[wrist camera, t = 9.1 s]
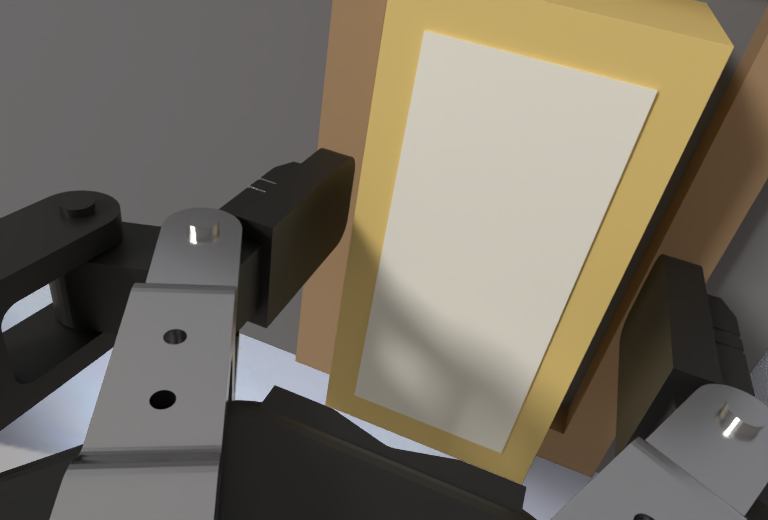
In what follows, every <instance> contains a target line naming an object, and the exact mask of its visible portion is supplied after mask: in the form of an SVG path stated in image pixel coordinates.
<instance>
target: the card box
mask: <svg viewBox="0 0 768 520" xmlns="http://www.w3.org/2000/svg"><path fill="white" fill-rule="evenodd" d="M733 48H734V46H733V44H732V42H731V41H730V39H729V38H728V36H727V35H726V33H725V31H724V30H723V28H722V27H721V25H720V23H719V22H718V20H717V19H716V17H715V16H714V14H713V12H712V11H711V9H710V8H709V6H708V5H707V3H704V2H699V1H695V0H387V5H386V12H385V18H384V25H383V31H382V38H381V44H380V51H379V57H378V64H377V70H376V77H375V84H374V90H373V97H372V103H371V110H370V116H369V123H368V129H367V136H366V142H365V149H364V155H363V162H362V169H361V175H360V182H359V188H358V195H357V201H356V208H355V214H354V221H353V227H352V234H351V240H350V247H349V254H348V260H347V267H346V273H345V280H344V286H343V293H342V299H341V306H340V312H339V319H338V325H337V332H336V339H335V345H334V352H333V358H332V365H331V371H330V378H329V384H328V391H327V397H326V404H325V405H327V406H329V407H331V408H334V409H336V410H339V411H341V412H344V413H346V414H349V415H351V416H354V417H356V418H359V419H361V420H364V421H366V422H369V423H371V424H373V425H376V426H378V427H381V428H383V429H386V430H388V431H391V432H393V433H396V434H398V435H401V436H403V437H406V438H408V439H411V440H413V441H415V442H418V443H420V444H423V445H425V446H428V447H430V448H433V449H435V450H438V451H440V452H443V453H445V454H448V455H450V456H453V457H455V458H457V459H460V460H462V461H465V462H467V463H470V464H472V465H475V466H477V467H480V468H482V469H485V470H487V471H490V472H492V473H495V474H497V475H499V476H502V477H504V478H507V479H509V480H512V481H514V482H517V483H519V484H522V483H523V481H524V479H525V477H526V474H527V472H528V470H529V468H530V466H531V464H532V462H533V460H534V458H535V456H536V454H537V452H538V450H539V448H540V446H541V444H542V442H543V439H544V437H545V435H546V433H547V431H548V429H549V427H550V425H551V423H552V421H553V419H554V417H555V415H556V413H557V411H558V409H559V407H560V404H561V402H562V400H563V398H564V396H565V394H566V392H567V390H568V388H569V386H570V384H571V382H572V380H573V378H574V376H575V374H576V371H577V369H578V367H579V365H580V363H581V361H582V359H583V357H584V355H585V353H586V351H587V349H588V347H589V345H590V343H591V341H592V339H593V336H594V334H595V332H596V330H597V328H598V326H599V324H600V322H601V320H602V318H603V316H604V314H605V312H606V310H607V308H608V306H609V304H610V301H611V299H612V297H613V295H614V293H615V291H616V289H617V287H618V285H619V283H620V281H621V279H622V277H623V275H624V273H625V271H626V268H627V266H628V264H629V262H630V260H631V258H632V256H633V254H634V252H635V250H636V248H637V246H638V244H639V242H640V240H641V238H642V236H643V233H644V231H645V229H646V227H647V225H648V223H649V221H650V219H651V217H652V215H653V213H654V211H655V209H656V207H657V205H658V203H659V200H660V198H661V196H662V194H663V192H664V190H665V188H666V186H667V184H668V182H669V180H670V178H671V176H672V174H673V172H674V170H675V168H676V165H677V163H678V161H679V159H680V157H681V155H682V153H683V151H684V149H685V147H686V145H687V143H688V141H689V139H690V137H691V135H692V133H693V130H694V128H695V126H696V124H697V122H698V120H699V118H700V116H701V114H702V112H703V110H704V108H705V106H706V104H707V102H708V100H709V97H710V95H711V93H712V91H713V89H714V87H715V85H716V83H717V81H718V79H719V77H720V75H721V73H722V71H723V69H724V67H725V65H726V62H727V60H728V58H729V56H730V54H731V52H732V50H733Z"/></svg>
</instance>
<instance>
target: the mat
mask: <svg viewBox="0 0 768 520" xmlns="http://www.w3.org/2000/svg"><path fill="white" fill-rule="evenodd" d="M695 1H699V2H704V3H707V5H708V6H709V8H710V9H711V11H712V12H713V14H714V16H715V17H716V19H717V20H718V22H719V23H720V25H721V27H722V28H723V30H724V31H725V33H726V35H727V36H728V38H729V39H730V41H731V42H732V44H733V46H734V48H733V50H732V52H731V54H730V56H729V58H728V60H727V62H726V65H725V67H724V69H723V71H722V73H721V75H720V77H719V79H718V81H717V83H716V85H715V87H714V89H713V91H712V93H711V95H710V97H709V100H708V102H707V104H706V106H705V108H704V110H703V112H702V114H701V116H700V118H699V120H698V122H697V124H696V126H695V128H694V130H693V133H692V135H691V137H690V139H689V141H688V143H687V145H686V147H685V149H684V151H683V153H682V155H681V157H680V159H679V161H678V163H677V165H676V168H675V170H674V172H673V174H672V176H671V178H670V180H669V182H668V184H667V186H666V188H665V190H664V192H663V194H662V196H661V198H660V200H659V203H658V205H657V207H656V209H655V211H654V213H653V215H652V217H651V219H650V221H649V223H648V225H647V227H646V229H645V231H644V233H643V236H642V238H641V240H640V242H639V244H638V246H637V248H636V250H635V252H634V254H633V256H632V258H631V260H630V262H629V264H628V266H627V268H626V271H625V273H624V275H623V277H622V279H621V281H620V283H619V285H618V287H617V289H616V291H615V293H614V295H613V297H612V299H611V301H610V304H609V306H608V308H607V310H606V312H605V314H604V316H603V318H602V320H601V322H600V324H599V326H598V328H597V330H596V332H595V334H594V336H593V339H592V341H591V343H590V345H589V347H588V349H587V351H586V353H585V355H584V357H583V359H582V361H581V363H580V365H579V367H578V369H577V371H576V374H575V376H574V378H573V380H572V382H571V384H570V386H569V388H568V390H567V392H566V394H565V396H564V398H563V400H562V402H561V404H560V407H559V409H558V411H557V413H556V415H555V417H554V419H553V421H552V423H551V425H550V427H549V429H548V431H547V433H546V435H545V437H544V439H543V442H542V444H541V446H540V448H539V450H538V452H537V454H536V456H539V457H541V458H544V459H547V460H549V461H552V462H554V463H557V464H559V465H562V466H564V467H567V468H569V469H572V470H575V471H577V472H580V473H582V474H585V475H587V476H590V477H592V476H593V474H594V473H595V472H598V473H600V472H601V471H602V470H603V469H604V468H605V467H606V466H607V465H608V464H609V463H610V462H611V461H612V460H613V459H614V458H615V447H616V421H617V395H618V369H619V344H620V337H621V333H622V329H623V326H624V323H625V320H626V318H627V316H628V314H629V312H630V310H631V308H632V306H633V304H634V302H635V300H636V298H637V296H638V294H639V292H640V290H641V288H642V286H643V284H644V282H645V280H646V278H647V276H648V275H649V273H650V271H651V269H652V267H653V265H654V263H655V261H656V260H657V258H658V257H659V256H660V255H661V254H665V255H668V256H671V257H674V258H678V259H681V260H684V261H687V262H690V263H694V264H697V265H700V266H702V268H703V273H704V279H705V285H706V290H707V294H709V295H712V296H716V297H719V298H722V300H723V301H724V302H725V304H726V305H727V306H728V307H729V309H730V310H731V311H732V313H733V314H734V315H735V316H736V318H737V322H738V326H739V331H740V335H741V336H740V339H742V343H743V348H744V352H743V354H745V356H746V360H747V365H748V369H749V373H751V372H752V370H753V369H754V367H755V366H756V365H757V363H758V362H759V360H760V359H761V358H762V356H763V355H764V354H765V352H766V351H767V349H768V0H695ZM386 5H387V0H0V218H2V217H4V216H6V215H8V214H11V213H13V212H15V211H17V210H20V209H22V208H24V207H27V206H29V205H31V204H33V203H36V202H38V201H40V200H42V199H45V198H47V197H49V196H52V195H55V194H58V193H62V192H67V191H77V190H86V191H96V192H101V193H104V194H107V195H109V196H111V197H113V198H114V199H116V200H117V201H118V203H119V205H120V209H121V218H122V222H130V223H137V224H145V225H152V226H161V227H162V224H163V222H164V221H165V219H166V218H167V217H169V216H170V215H172V214H174V213H176V212H178V211H181V210H185V209H190V208H213V209H220V208H221V207H222V206H224V205H225V204H226V203H227V202H229V201H230V200H231V199H233V198H234V197H235V196H237V195H238V194H239V193H241V192H242V191H243V190H245V189H246V188H247V187H248V188H250V185H251V184H253V183H254V182H255V181H257V180H258V179H261V177H262V176H263V175H265V174H266V173H267V172H269V171H270V170H271V169H272V168H274V167H277V166H280V165H284V164H287V163H290V162H297V163H300V164H301V163H302V162H304V161H305V160H306V159H307V158H309V157H310V156H311V155H312V154H314V153H315V152H316V151H317V150H319V149H320V148H325V149H328V150H332V151H335V152H338V153H341V154H344V155H348V156H351V157H353V158H354V159H355V173H354V180H353V187H352V194H351V200H350V207H349V214H348V221H347V225H346V228H345V231H344V234H343V236H342V238H341V240H340V242H339V244H338V245H337V246H336V248H335V249H334V250H333V251H332V252H331V253H330V255H329V256H328V257H327V258H326V259H325V261H324V262H323V263H322V264H321V265H320V266H319V268H318V269H317V270H316V271H315V272H314V273H313V275H312V276H311V277H310V278H309V279H308V281H307V282H306V283H305V284H304V285H303V286H302V288H301V289H300V290H299V291H298V292H297V293H296V295H295V296H294V297H293V298H292V299H291V301H290V302H289V303H288V304H287V305H286V306H285V308H284V309H283V310H282V311H281V312H280V313H279V315H278V316H277V317H276V318H275V319H274V321H273V322H272V323H271V324H270V325H269V326H268V328H267V329H266V328H264V327H261V326H259V325H256V324H253V323H251V322H248V321H247V322H246V323H245V324H244V326H243V327H242V328H241V329H240V330H239V333H241V334H244V335H246V336H249V337H251V338H254V339H257V340H259V341H262V342H264V343H267V344H269V345H272V346H274V347H277V348H280V349H282V350H285V351H287V352H290V353H292V354H295V355H296V361H297V362H299V363H302V364H304V365H307V366H309V367H312V368H314V369H317V370H320V371H322V372H325V373H327V374H330V371H331V365H332V358H333V352H334V345H335V339H336V332H337V325H338V319H339V312H340V306H341V299H342V293H343V286H344V280H345V273H346V267H347V260H348V254H349V247H350V240H351V234H352V227H353V221H354V214H355V208H356V201H357V195H358V188H359V182H360V175H361V169H362V162H363V155H364V149H365V142H366V136H367V129H368V123H369V116H370V110H371V103H372V97H373V90H374V84H375V77H376V70H377V64H378V57H379V51H380V44H381V38H382V31H383V25H384V18H385V12H386Z"/></svg>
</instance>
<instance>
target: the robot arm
mask: <svg viewBox="0 0 768 520" xmlns="http://www.w3.org/2000/svg"><path fill="white" fill-rule="evenodd" d="M354 173H355V159H354V158H353V157H351V156H348V155H344V154H341V153H338V152H335V151H332V150H328V149H325V148H320V149H319V150H317V151H316V152H315V153H314V154H312V155H311V156H310V157H309V158H307V159H306V160H305V161H304V162H302V163H301V164H300V163H297V162H290V163H287V164H284V165H280V166H277V167H274V168H272V169H271V170H270V171H269V172H267V173H266V174H265V175H263V176H262V177H261V179H258V180H257V181H255V182H254V183H253V184H251V185H250V188H248V187H247V188H246V189H245V190H243V191H242V192H241V193H239V194H238V195H237V196H235V197H234V198H233V199H231V200H230V201H229V202H227V203H226V204H225V205H224V206H222V207H221V208H220V209H213V208H190V209H185V210H181V211H178V212H176V213H174V214H172V215H170V216H169V217H167V218H166V219H165V221H164V222H163V224H162V227H161V226H152V225H145V224H137V223H130V222H122V218H121V209H120V205H119V203H118V201H117V200H116V199H114V198H113V197H111V196H109V195H107V194H104V193H101V192H96V191H86V190H77V191H67V192H62V193H58V194H55V195H52V196H49V197H47V198H45V199H42V200H40V201H38V202H36V203H33V204H31V205H29V206H27V207H24V208H22V209H20V210H17V211H15V212H13V213H11V214H8V215H6V216H4V217H2V218H0V431H1V430H2V429H4V428H5V427H6V426H8V425H9V424H10V423H12V422H13V421H14V420H16V419H17V418H18V417H20V416H21V415H23V414H24V413H25V412H27V411H28V410H29V409H31V408H32V407H33V406H35V405H36V404H37V403H39V402H40V401H41V400H43V399H44V398H45V397H47V396H48V395H49V394H51V393H52V392H54V391H55V390H56V389H58V388H59V387H60V386H62V385H63V384H64V383H66V382H67V381H68V380H70V379H71V378H72V377H74V376H75V375H76V374H78V373H79V372H80V371H82V370H83V369H84V368H86V367H87V366H89V365H90V364H91V363H93V362H94V361H95V360H97V359H98V358H99V357H101V356H102V355H103V354H105V353H106V352H107V351H109V350H110V349H111V348H113V350H112V354H111V357H110V360H109V363H108V367H107V370H106V373H105V376H104V380H103V383H102V386H101V389H100V392H99V396H98V399H97V402H96V405H95V409H94V412H93V415H92V418H91V422H90V425H89V428H88V431H87V434H86V438H85V441H84V444H82V445H80V446H77V447H74V448H71V449H68V450H65V451H62V452H59V453H56V454H54V455H51V456H48V457H45V458H42V459H39V460H36V461H33V462H31V463H28V464H25V465H22V466H19V467H16V468H13V469H10V470H7V471H4V472H2V473H0V520H537V519H535V518H534V517H533V516H532V515H530V514H529V513H527V512H526V511H525V510H523V509H522V507H523V502H524V496H525V491H526V487H525V486H523V485H520V484H518V483H515V482H513V481H510V480H508V479H506V478H503V477H501V476H498V475H496V474H493V473H491V472H488V471H486V470H483V469H481V468H478V467H476V466H473V465H471V464H468V463H466V462H463V461H461V460H456V459H451V458H445V457H439V456H434V455H428V454H423V453H417V452H411V451H406V450H400V449H395V448H391V447H389V446H386V445H385V444H383V443H382V442H380V441H379V440H377V439H376V438H374V437H373V436H371V435H370V434H369V433H367V432H366V431H364V430H363V429H361V428H360V427H358V426H357V425H356V424H354V423H353V422H351V421H350V420H348V419H347V418H345V417H344V416H343V415H341V414H340V413H338V412H337V411H335V410H334V409H332V408H330V407H327V406H325V405H322V404H320V403H317V402H315V401H312V400H310V399H308V398H305V397H303V396H300V395H298V394H295V393H293V392H290V391H288V390H285V389H283V388H280V387H278V386H274V387H273V388H272V390H271V391H270V392H269V394H268V395H267V397H266V398H265V399H264V401H263V402H256V401H243V400H235V393H236V379H237V364H238V350H239V330H240V329H241V328H242V327H243V326H244V324H245V323H246V322H247V321H248V322H251V323H253V324H256V325H259V326H261V327H264V328H266V329H267V328H268V326H269V325H270V324H271V323H272V322H273V321H274V319H275V318H276V317H277V316H278V315H279V313H280V312H281V311H282V310H283V309H284V308H285V306H286V305H287V304H288V303H289V302H290V301H291V299H292V298H293V297H294V296H295V295H296V293H297V292H298V291H299V290H300V289H301V288H302V286H303V285H304V284H305V283H306V282H307V281H308V279H309V278H310V277H311V276H312V275H313V273H314V272H315V271H316V270H317V269H318V268H319V266H320V265H321V264H322V263H323V262H324V261H325V259H326V258H327V257H328V256H329V255H330V253H331V252H332V251H333V250H334V249H335V248H336V246H337V245H338V244H339V242H340V240H341V238H342V236H343V234H344V231H345V228H346V225H347V221H348V214H349V207H350V200H351V194H352V187H353V180H354ZM47 284H49V286H50V291H51V295H52V300H53V303H51V304H49V305H48V306H46V307H44V308H43V309H41V310H40V311H38V312H36V313H35V314H33V315H31V316H30V317H28V318H26V319H25V320H23V321H21V322H20V323H18V324H16V325H15V326H13V327H11V328H10V329H8V330H6V331H5V332H3V333H2V330H1V324H2V320H3V317H4V315H5V314H6V312H7V311H8V309H9V308H10V307H11V306H12V305H13V304H15V303H16V302H18V301H19V300H21V299H23V298H24V297H26V296H28V295H30V294H31V293H33V292H35V291H37V290H38V289H40V288H42V287H44V286H45V285H47ZM740 336H741V335H740V331H739V326H738V322H737V318H736V316H735V315H734V314H733V313H732V311H731V310H730V309H729V307H728V306H727V305H726V304H725V302H724V301H723V300H722V298H719V297H716V296H712V295H709V294H707V290H706V285H705V279H704V273H703V268H702V266H700V265H697V264H694V263H690V262H687V261H684V260H681V259H678V258H674V257H671V256H668V255H665V254H661V255H660V256H659V257H658V258H657V260H656V261H655V263H654V265H653V267H652V269H651V271H650V273H649V275H648V276H647V278H646V280H645V282H644V284H643V286H642V288H641V290H640V292H639V294H638V296H637V298H636V300H635V302H634V304H633V306H632V308H631V310H630V312H629V314H628V316H627V318H626V320H625V323H624V326H623V329H622V333H621V337H620V344H619V369H618V395H617V421H616V447H615V458H614V459H613V460H612V461H611V462H610V463H609V464H608V465H607V466H606V467H605V468H604V469H603V470H602V471H601V472H600V473H599V474H598V475H597V476H596V477H595V478H594V479H592V480H591V481H590V482H589V483H588V484H587V485H586V486H585V487H584V488H583V489H582V490H581V491H580V492H579V493H578V494H577V495H576V496H575V497H574V498H573V499H572V500H570V501H569V502H568V503H567V504H566V505H565V506H564V507H563V508H562V509H561V510H560V511H559V512H558V513H557V514H556V515H555V516H554V517H553V518H552V519H551V520H768V406H767V405H766V404H764V403H763V402H761V401H760V400H759V399H757V398H755V395H754V390H753V386H752V382H751V377H750V373H749V369H748V365H747V360H746V356H745V354H743V352H744V348H743V343H742V339H740Z"/></svg>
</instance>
